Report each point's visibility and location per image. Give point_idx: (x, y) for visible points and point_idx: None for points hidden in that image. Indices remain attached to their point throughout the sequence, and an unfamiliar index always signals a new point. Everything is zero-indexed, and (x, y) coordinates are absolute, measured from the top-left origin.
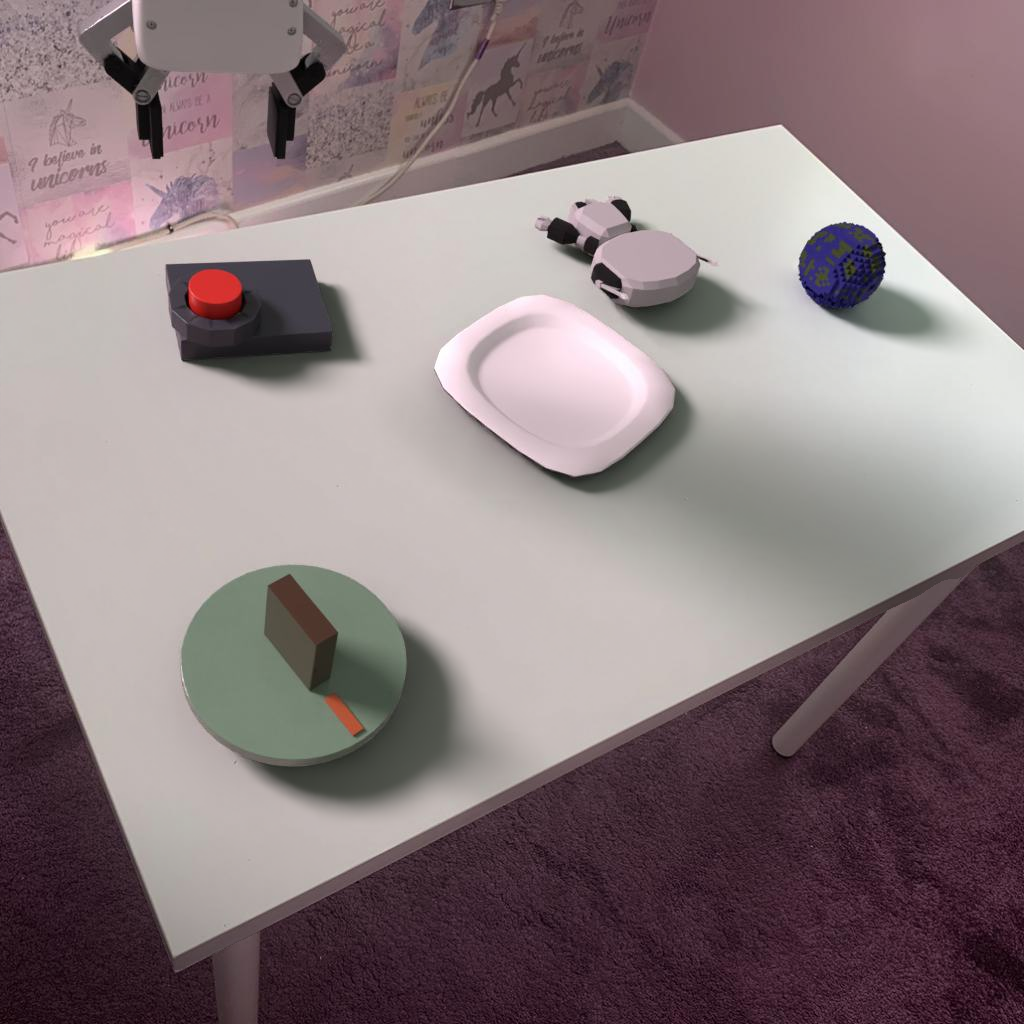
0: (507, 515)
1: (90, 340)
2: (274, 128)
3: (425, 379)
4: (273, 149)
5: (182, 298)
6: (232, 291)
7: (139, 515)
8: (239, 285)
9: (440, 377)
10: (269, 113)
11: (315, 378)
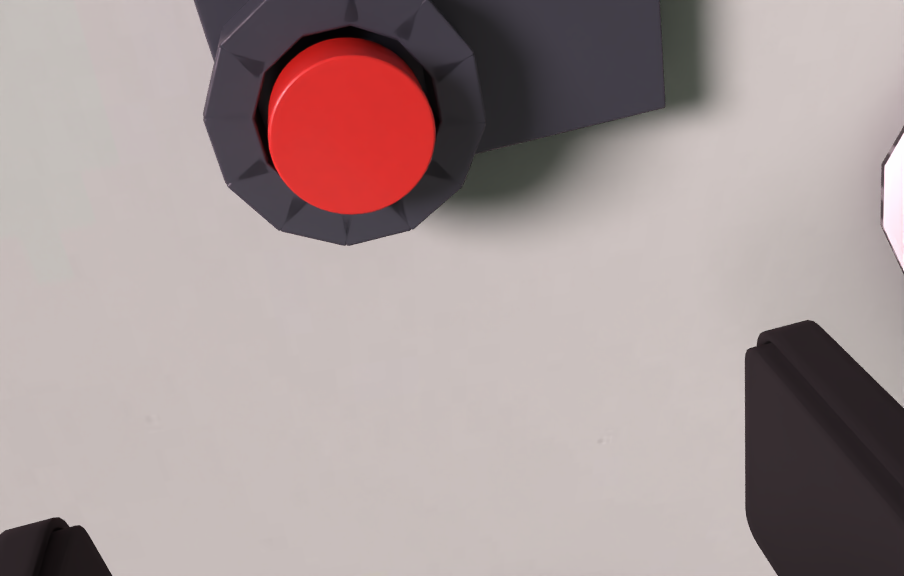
0: None
1: (7, 137)
2: None
3: (845, 148)
4: (760, 519)
5: (250, 135)
6: (407, 154)
7: (250, 546)
8: (427, 122)
9: (888, 199)
10: (842, 499)
11: (589, 183)
